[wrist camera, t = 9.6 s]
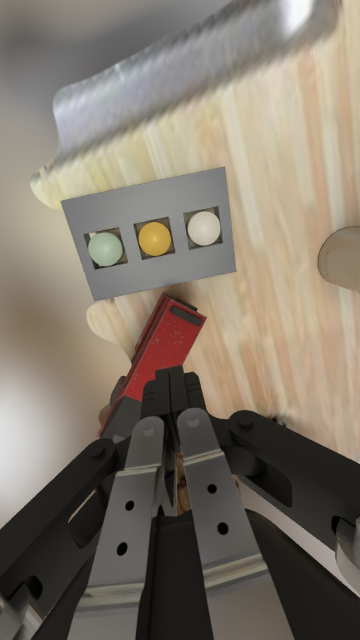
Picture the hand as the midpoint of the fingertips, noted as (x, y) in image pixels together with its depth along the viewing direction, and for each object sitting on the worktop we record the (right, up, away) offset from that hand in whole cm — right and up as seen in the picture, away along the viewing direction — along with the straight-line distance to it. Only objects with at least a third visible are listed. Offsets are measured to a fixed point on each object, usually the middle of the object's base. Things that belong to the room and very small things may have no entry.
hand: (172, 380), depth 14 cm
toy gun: (-5, -1, +31) cm, 32 cm away
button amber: (-3, +16, +24) cm, 29 cm away
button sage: (-10, +14, +24) cm, 30 cm away
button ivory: (+4, +17, +24) cm, 30 cm away
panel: (-3, +16, +24) cm, 29 cm away
